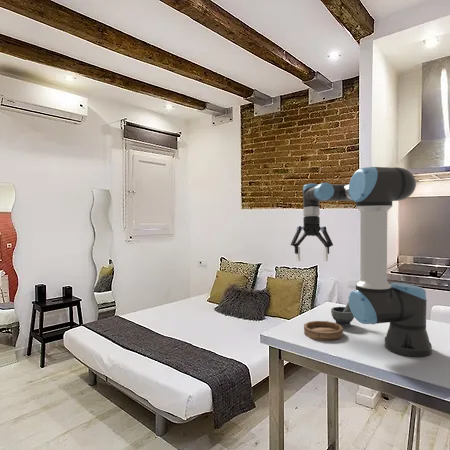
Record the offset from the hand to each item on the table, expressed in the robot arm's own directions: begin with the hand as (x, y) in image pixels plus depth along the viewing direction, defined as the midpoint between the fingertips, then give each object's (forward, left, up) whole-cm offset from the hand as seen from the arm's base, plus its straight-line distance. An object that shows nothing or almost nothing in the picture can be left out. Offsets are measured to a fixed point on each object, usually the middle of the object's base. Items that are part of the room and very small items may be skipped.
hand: (312, 261), depth 167 cm
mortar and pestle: (-16, -5, -27) cm, 32 cm away
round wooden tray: (-22, +10, -26) cm, 36 cm away
